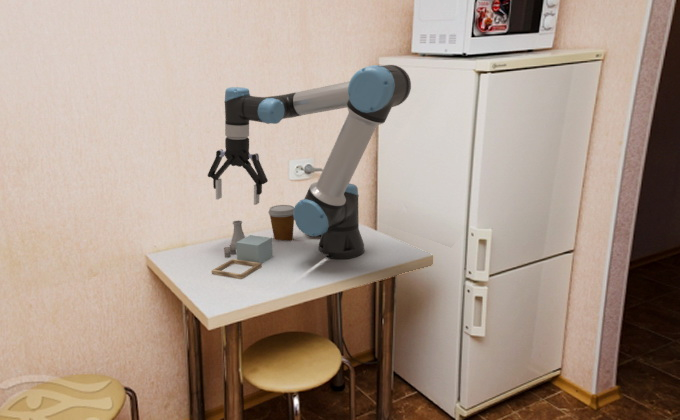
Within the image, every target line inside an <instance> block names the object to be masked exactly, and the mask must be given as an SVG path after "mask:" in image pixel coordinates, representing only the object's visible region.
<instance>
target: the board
mask: <svg viewBox="0 0 680 420" xmlns="http://www.w3.org/2000/svg"><path fill="white" fill-rule="evenodd" d="M230 244H231V243H230ZM223 249H224V258H226V259H227V258H231V256H232V255H237V250H236V247H235V244H231V245H229V246H225V247H224V248H223ZM262 264H263V262H262V263H256V262H250V261H243V260H237V258H232V259H230V260H228V261H227V262H225V263H223V264H221V265H219V266H217V267H216V268H213V269H211V275H215V276H220V277H226V278H231V279H232V278H233V279H239V280H242V279H245V278H246V277H248V276H249V275H251V274H253V273H254V272H256V271H258V270H259V269H261V268H262V266H263V265H262ZM232 265H241V266H248V267H250V268H248V269H247V270H244V272H242V273H236V272H230V271H225V270H224V269H227V268H228V267H230V266H232Z"/></svg>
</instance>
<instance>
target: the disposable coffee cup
mask: <svg viewBox="0 0 680 420" xmlns="http://www.w3.org/2000/svg"><path fill="white" fill-rule="evenodd" d="M294 207H295V206H294V205H290V204H276V205H273V206H271V207H269V209H268V210H269V211H268V212H267V213H268V216H269V218H270V224H271V229H272V234H273V239H275V240H277V241H291V242H292V241H293V237H294V226H295V220H294V217H293V211H294Z"/></svg>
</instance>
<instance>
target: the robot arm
mask: <svg viewBox="0 0 680 420" xmlns="http://www.w3.org/2000/svg"><path fill="white" fill-rule="evenodd" d="M411 91H412V82H411V78H410V76H409V74H408V73H407V71H406V70H405V69H404V68H402V67H401V66H399V65H397V64H396V65H395V64H386V65H375V64H374V65H373V64H372V65H369V66H366V67H365V66H364V67H363V68H361V69H359V70H357V71H356V72H355V73H354V74H353V75H352V77H351V78H350V79H349V81H344V82H339V83H334V84H329V85H325V86H324V85H323V86H320V87H316V88H311V89H305V90H300V91H296V92H291V93H286V94H280V95H273V96H253V95H251V94H250V89H249V88H246V87H240V86H239V87H238V86H237V87H236V86H234V87H233V86H232V87H227V88H226V89H225V91H224V93H225V94H224V115H225V123H224V126H225V127H224V128H225V129H224V134H225V135H224V136H225V139H224V140H225V141H224V142H225V143H224V145H225V146H224V147H225V150H223V149H218V150H216V152H215V153H216V154H215V157H214V160H213V163H212V164H211V166H210V169H209V171H208V173H207V177H208V178H211V179H213V180H212V181H213V182H212V183H213V185H212V186H213V189H214V190H215V200H220V199H222V198H223V194H222V193H223V192H222V191H223V190H222V189H223V186H222V185H223V184H222V183H223V182H222V178H221V176H222V174H224V172H225V171H226V170H227V169H228V168H229V167H230V166H233V167H239V168H240V167H242V168H243V169H245V171H246V172H247V174H248V175H249V176H250V178H252V181H253V182H254V183H255V184H253V206H256V205H258V204H259V203H260V195H261V194H262V193H263V185H265V184H267V182H269V181H268V178H267V176H266V173H265V171H264V168H263V166H262V163H261V162H260V156H259V153H258V152H257V153H252V154H251V153H250V138H249V136H250V121H253V122H259V123H263V124H268V125H269V124H270V125H271V124H273V125H277V124H279V123H280V122H281V121H282V120H284V119H291V118H296V117H301V116H307V115H312V114H316V113H317V114H318V113H322V112H329V111H335V110H341V109H346V108H347V111H348V113H347V116H346V118H345V120H344V123H343V125H342V127H341V130H340V132H339V134H338V136H337V138H336V140H335V143H334V144H333V147H332V149H331V152H330V154H329V156H328V158H327V160H326V162H325V163H324V167H323V169H322V171H321V174H320V176H319V178H318V180H317V181H316V182H313V183H311V184H310V185H309V188H308V190H307V192H306V195H305V196H304V198H303V199H300V200H299V201H298V202H297V203H296V204H295V205H294V206H293V207H294V211H293V217H294V223H295V225H296V227H297V228H298V230H299V231H300V232H302V233H303V234H305V235H306V236H310V237H318V236H320V239H319V242H318V251H319V252H320V253H321V254H325V255H326V256H325V258H328V259H335V260H337V259H338V260H339V259H340V260H342V259H343V260H344V259H352V258H353V259H354V258H356V257H359V256H361V255H362V254H364V253H365V243H364V241H363V238H362V237H363V236H362V234H361V232H360V228H359V226H360V225H359V222H360V221H359V220H360V219H359V190H358V189H359V188H358V186H357V185H356V184H353V183H351V180H352V178H353V176H354V174H355V172H356V170H357V167H358V166H359V164H360V161H361V159H362V157H363V155H364V154H365V151H366V149H367V148H368V147H367V146H368V145H369V142H371V141H370V140H371V139H372V137H373V135H374V132H375V130H376V128H377V126H379V125H383V124H384V123H385V122H386V121H387V118H388V116H389V114H390V112H391V110H392V108H394V107H397V106H400V105H401V104H403V103H404V102H405V101H406V100H407V98H408V97H409V95H410V94H411V93H410V92H411ZM223 157H225V158H226V160H225V161H224V162H223V164H222V165H221V166H220V163H221V162H222V159H223ZM249 160H251V161H249ZM251 162H252V163H251ZM252 165H253V166H252ZM219 166H220V168H219ZM253 167H254V168H253ZM218 168H219V169H218Z"/></svg>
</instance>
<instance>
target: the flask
mask: <svg viewBox="0 0 680 420" xmlns="http://www.w3.org/2000/svg"><path fill="white" fill-rule="evenodd" d="M242 224H243V221H242V220H240V219H239V220H234V221H232V225H233V234H232V238H231V241H230V245H231V244H235V247H236V242H238V241H240V240H242V239H244V238H246V236H245V234H244V231H243V228H242V227H243V226H242ZM230 245H229V246H230Z"/></svg>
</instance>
